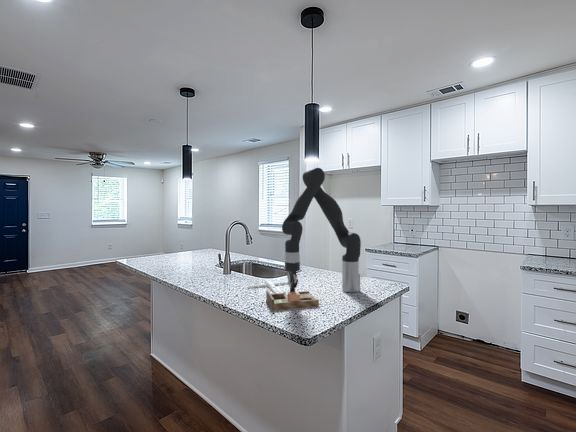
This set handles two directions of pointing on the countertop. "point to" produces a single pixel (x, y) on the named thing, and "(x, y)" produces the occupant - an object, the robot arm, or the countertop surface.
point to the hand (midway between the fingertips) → (292, 295)
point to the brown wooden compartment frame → (282, 302)
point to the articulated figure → (270, 286)
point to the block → (293, 296)
